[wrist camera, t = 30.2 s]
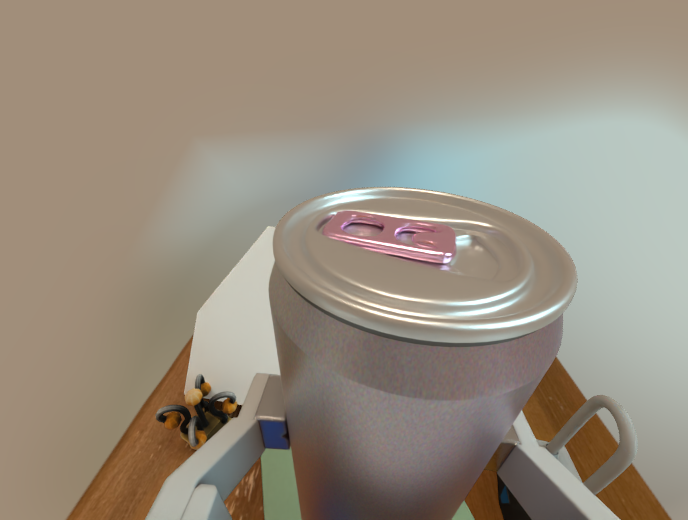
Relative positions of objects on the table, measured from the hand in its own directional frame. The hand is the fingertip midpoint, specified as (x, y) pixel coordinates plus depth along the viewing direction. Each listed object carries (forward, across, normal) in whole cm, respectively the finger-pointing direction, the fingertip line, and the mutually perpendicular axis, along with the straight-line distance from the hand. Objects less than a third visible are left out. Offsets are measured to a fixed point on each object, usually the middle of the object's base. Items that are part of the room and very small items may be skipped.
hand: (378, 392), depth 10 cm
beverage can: (-1, 0, +8) cm, 8 cm away
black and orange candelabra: (+7, +14, +21) cm, 26 cm away
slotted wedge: (+19, +10, +21) cm, 30 cm away
